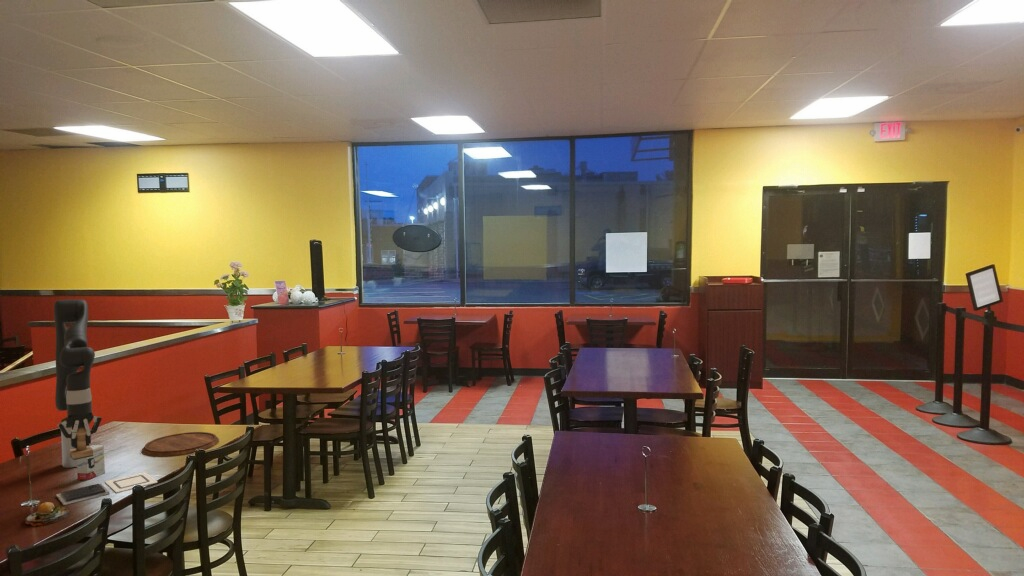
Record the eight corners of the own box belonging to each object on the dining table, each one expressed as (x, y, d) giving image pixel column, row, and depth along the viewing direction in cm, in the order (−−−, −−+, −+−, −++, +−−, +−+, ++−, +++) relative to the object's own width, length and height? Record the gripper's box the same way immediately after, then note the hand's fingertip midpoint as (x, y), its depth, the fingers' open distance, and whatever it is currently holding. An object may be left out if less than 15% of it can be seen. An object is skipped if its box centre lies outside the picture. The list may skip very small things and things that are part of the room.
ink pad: (56, 496, 221) (56, 492, 221) (101, 485, 232) (100, 482, 232) (63, 505, 213) (63, 501, 213) (109, 493, 224) (109, 490, 223)
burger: (77, 511, 209) (76, 490, 209) (52, 526, 197) (51, 504, 197) (42, 511, 209) (41, 491, 208) (15, 527, 197) (14, 505, 196)
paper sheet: (105, 482, 235) (105, 481, 235) (145, 472, 245) (145, 471, 245) (116, 493, 224) (116, 491, 224) (157, 482, 235) (157, 481, 235)
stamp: (69, 456, 222) (68, 426, 221) (89, 452, 226) (88, 423, 225) (73, 460, 217) (72, 430, 217) (93, 456, 222) (92, 426, 221)
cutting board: (165, 462, 259) (165, 456, 259) (128, 450, 276) (127, 444, 276) (233, 442, 287) (233, 437, 286) (195, 432, 303) (195, 427, 303)
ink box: (86, 480, 237) (85, 451, 237) (76, 479, 238) (75, 450, 238) (105, 472, 246) (104, 444, 245) (95, 472, 247) (94, 444, 246)
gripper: (99, 396, 228) (100, 440, 229) (53, 402, 218) (55, 448, 219) (104, 399, 223) (106, 444, 224) (57, 406, 213) (59, 453, 214)
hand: (81, 446), depth 222 cm, fingers closed on stamp, 3 cm apart
